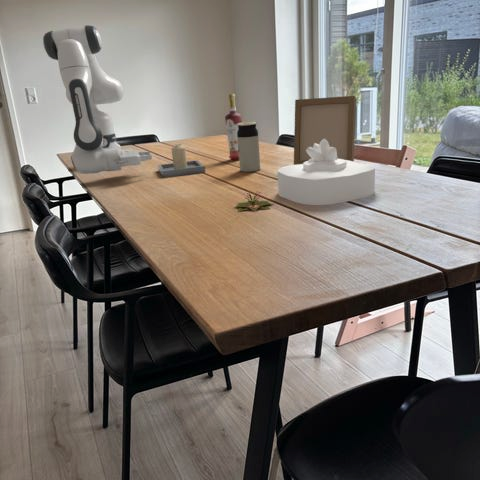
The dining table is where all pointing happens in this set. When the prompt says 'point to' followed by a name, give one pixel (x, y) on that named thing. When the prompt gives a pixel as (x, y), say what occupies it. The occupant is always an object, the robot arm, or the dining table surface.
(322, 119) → the photo frame
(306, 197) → the tissue box
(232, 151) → the liquor
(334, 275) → the dining table surface
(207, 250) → the dining table surface
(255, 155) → the travel mug
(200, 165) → the dish
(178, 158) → the candle
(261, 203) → the olive green leafy cluster
